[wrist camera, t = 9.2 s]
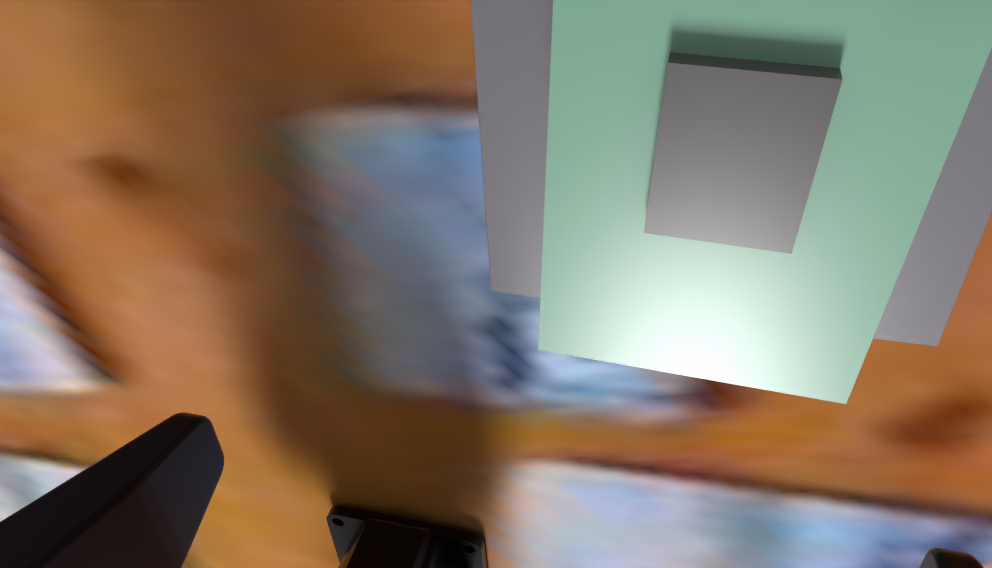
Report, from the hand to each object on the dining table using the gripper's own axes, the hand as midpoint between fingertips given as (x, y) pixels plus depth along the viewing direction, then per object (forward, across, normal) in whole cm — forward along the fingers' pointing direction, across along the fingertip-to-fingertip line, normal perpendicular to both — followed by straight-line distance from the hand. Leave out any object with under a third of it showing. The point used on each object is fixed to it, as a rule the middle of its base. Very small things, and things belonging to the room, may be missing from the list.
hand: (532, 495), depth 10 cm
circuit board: (+8, -2, -2) cm, 9 cm away
